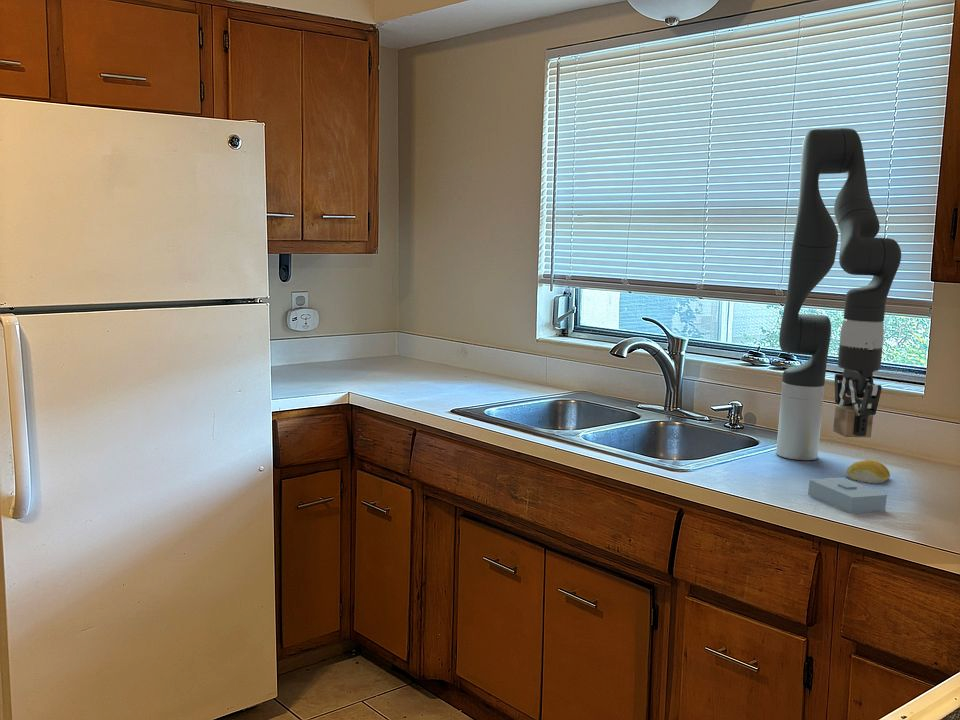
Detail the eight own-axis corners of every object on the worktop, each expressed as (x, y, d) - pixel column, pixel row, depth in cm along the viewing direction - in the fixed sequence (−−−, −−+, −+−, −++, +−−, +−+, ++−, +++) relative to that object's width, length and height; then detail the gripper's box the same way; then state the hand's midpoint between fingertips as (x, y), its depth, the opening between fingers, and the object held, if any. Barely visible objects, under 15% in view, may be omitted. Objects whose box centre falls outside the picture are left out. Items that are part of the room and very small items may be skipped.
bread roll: (892, 478, 193) (894, 460, 192) (882, 486, 186) (884, 468, 185) (851, 471, 198) (853, 453, 197) (841, 479, 190) (843, 460, 190)
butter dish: (807, 496, 177) (809, 477, 176) (840, 494, 180) (842, 475, 179) (850, 515, 166) (852, 495, 165) (884, 512, 168) (887, 493, 168)
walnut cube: (833, 431, 173) (835, 405, 172) (857, 431, 173) (860, 406, 173) (845, 437, 168) (847, 411, 167) (870, 437, 168) (873, 411, 168)
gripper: (824, 338, 175) (816, 423, 177) (860, 348, 161) (851, 440, 163) (861, 340, 176) (852, 424, 178) (900, 349, 161) (890, 441, 164)
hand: (852, 431), depth 171 cm, fingers closed on walnut cube, 5 cm apart
